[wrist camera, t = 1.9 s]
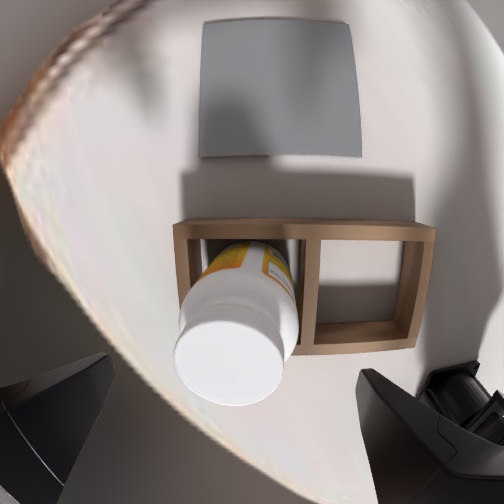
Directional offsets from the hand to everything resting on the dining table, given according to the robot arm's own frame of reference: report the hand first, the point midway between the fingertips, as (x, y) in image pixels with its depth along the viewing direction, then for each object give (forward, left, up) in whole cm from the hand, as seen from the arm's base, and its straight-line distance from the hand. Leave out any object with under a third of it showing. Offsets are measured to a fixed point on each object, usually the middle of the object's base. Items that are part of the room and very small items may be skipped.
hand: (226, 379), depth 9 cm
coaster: (-2, -13, -10) cm, 17 cm away
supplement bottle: (0, 0, -10) cm, 10 cm away
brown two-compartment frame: (-4, 0, -10) cm, 11 cm away
